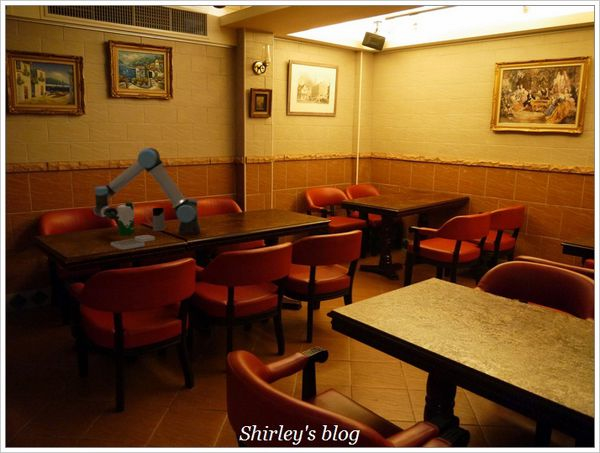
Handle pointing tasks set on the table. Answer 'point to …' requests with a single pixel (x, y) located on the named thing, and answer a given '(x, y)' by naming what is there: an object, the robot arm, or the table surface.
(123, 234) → the milk carton
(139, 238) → the small square white tray
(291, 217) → the table surface
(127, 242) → the shallow grey tray
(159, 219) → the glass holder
